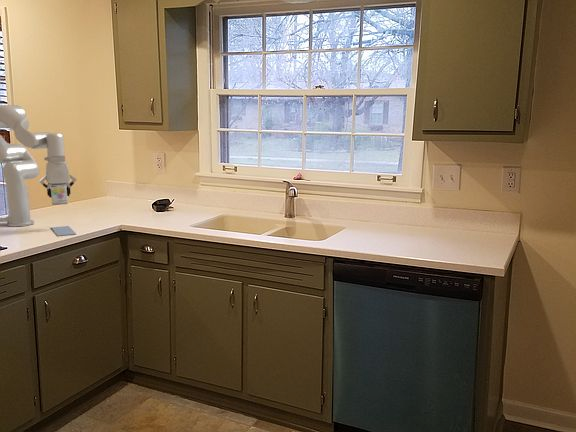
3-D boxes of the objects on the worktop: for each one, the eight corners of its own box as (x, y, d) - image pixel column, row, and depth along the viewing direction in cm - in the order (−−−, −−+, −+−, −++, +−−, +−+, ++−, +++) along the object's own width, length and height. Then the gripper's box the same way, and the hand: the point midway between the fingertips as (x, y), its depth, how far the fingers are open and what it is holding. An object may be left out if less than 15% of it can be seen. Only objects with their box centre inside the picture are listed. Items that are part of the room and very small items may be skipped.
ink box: (51, 205, 256) (49, 177, 254) (51, 204, 260) (49, 176, 257) (67, 204, 259) (65, 176, 256) (67, 203, 262) (65, 175, 260)
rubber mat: (57, 236, 246) (57, 235, 246) (51, 228, 263) (51, 227, 263) (76, 234, 250) (76, 233, 250) (68, 226, 267) (68, 225, 267)
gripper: (37, 160, 248) (40, 198, 251) (77, 159, 257) (79, 196, 260) (35, 159, 254) (38, 196, 257) (74, 158, 263) (76, 194, 266)
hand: (59, 196), depth 259 cm, fingers closed on ink box, 7 cm apart
